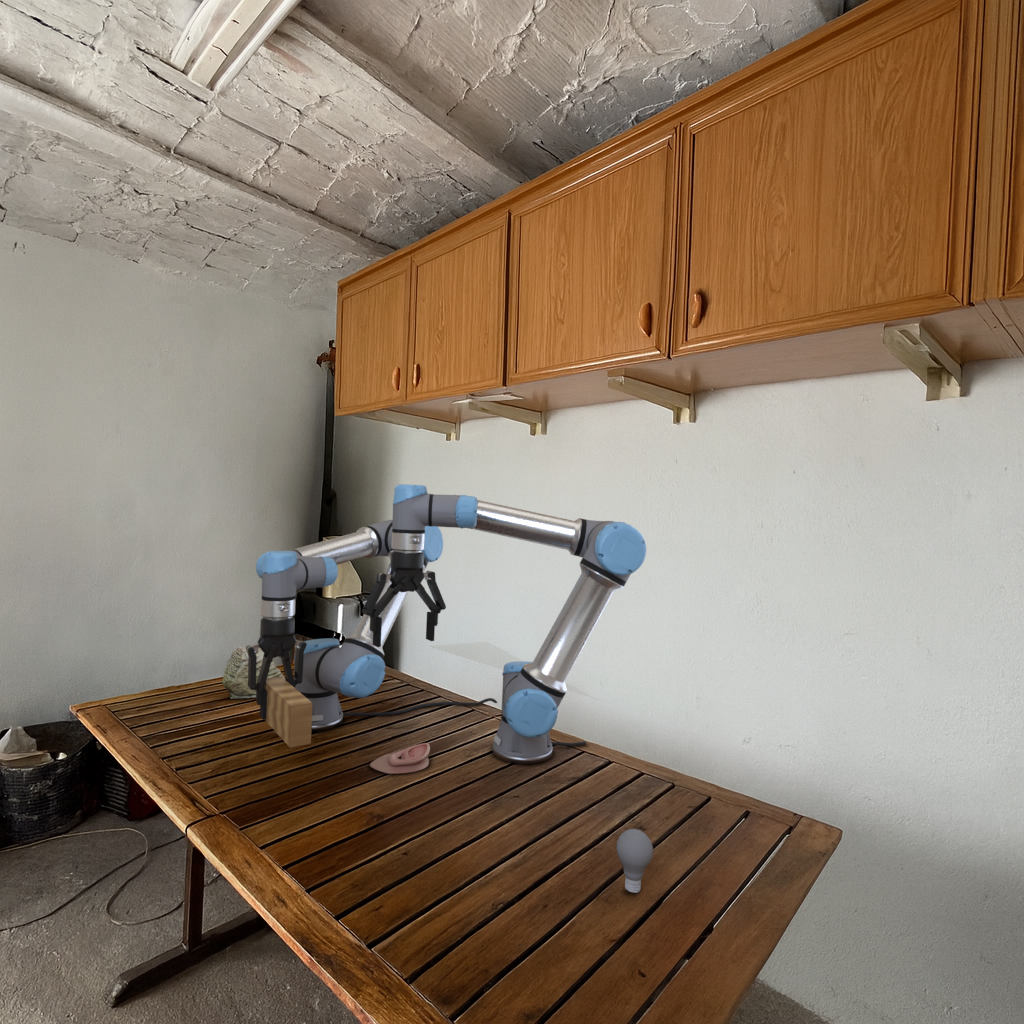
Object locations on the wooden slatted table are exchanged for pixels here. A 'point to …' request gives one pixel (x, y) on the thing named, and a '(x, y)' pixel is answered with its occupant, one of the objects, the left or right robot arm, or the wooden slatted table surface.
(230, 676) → the fossil
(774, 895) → the wooden slatted table surface
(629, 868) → the light bulb
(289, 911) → the wooden slatted table surface
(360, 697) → the left robot arm
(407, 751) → the anatomical model
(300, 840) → the wooden slatted table surface
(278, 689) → the bar
